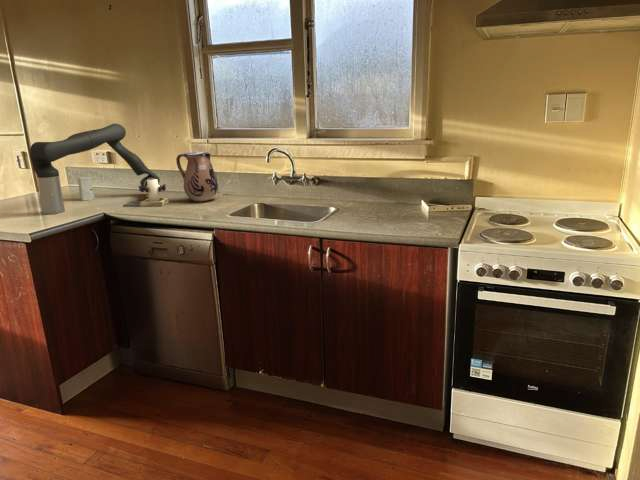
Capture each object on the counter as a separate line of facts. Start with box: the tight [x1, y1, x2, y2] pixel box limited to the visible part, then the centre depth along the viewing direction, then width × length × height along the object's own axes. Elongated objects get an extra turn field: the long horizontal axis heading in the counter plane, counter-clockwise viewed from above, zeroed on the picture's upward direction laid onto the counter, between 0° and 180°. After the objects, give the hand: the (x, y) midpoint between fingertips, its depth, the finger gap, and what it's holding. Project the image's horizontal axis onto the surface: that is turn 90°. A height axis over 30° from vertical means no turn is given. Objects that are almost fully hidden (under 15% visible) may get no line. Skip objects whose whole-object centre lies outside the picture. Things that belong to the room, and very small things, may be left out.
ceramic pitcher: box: [175, 151, 219, 202], centre depth 249 cm, size 18×21×25 cm
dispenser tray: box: [139, 197, 170, 208], centre depth 243 cm, size 11×11×2 cm
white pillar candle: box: [147, 179, 161, 202], centre depth 241 cm, size 5×5×12 cm
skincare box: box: [77, 176, 95, 201], centre depth 258 cm, size 6×4×12 cm
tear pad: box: [122, 200, 143, 208], centre depth 244 cm, size 10×9×1 cm
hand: (153, 190), depth 239 cm, fingers closed on white pillar candle, 5 cm apart
